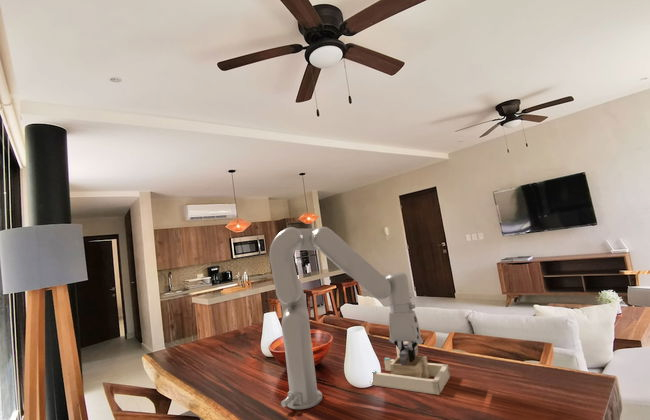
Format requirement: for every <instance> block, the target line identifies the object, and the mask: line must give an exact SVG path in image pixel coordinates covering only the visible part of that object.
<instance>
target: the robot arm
mask: <svg viewBox="0 0 650 420" xmlns="http://www.w3.org/2000/svg"><path fill="white" fill-rule="evenodd" d="M317 250H318V251H320V252H321V254H323V255H324V256H325V257H326V259H329V261H331V262H332V263H333V264H334V265H335V266H336V267H337V268H338V269H339V270H341V271H342V272H343V273H344V274H346V275H347V276H349V277H351V278H352V279H353V280H354V281H355V282H357V284H359V285H360V286H361V287H362V288H364V290H365V291H366V292H367V293H368V294H369V295H371V296H372V297H374V298H375V299H377V300H385V299H386V298H388V301H389V307H390V309H389V310H390V311H389V313H388V329H389V339H388V341H389V342H390V343H392V344H394V345H395V347H396V346H397V347H398V349H399V350H400V353H401V352H402V351H403V350H404V349H405V347H404V342H403V341H408V344H409V351H408V353H409V361H410V362H413V361H414V359H415V352H414V348H415V347H416V346H419V345H422V344H423V342H424V340H423V338H422V337H421V329H420V324H419V320H418V317H417V314H416V311H415V310H413V309H416V304H413V303H412V300H411V294H410V293H411V292H410V287H409V280H408V276H407V274H406V273H404V272H392V273H389V274H382V273H381V272H379V271H378V270H377V269H376V268H375V267H374V266H372V264H370V263H369V262H368V261H367V260H366V259H364V257H362V255H361V254H359V253H358V252H357V251H356V250H355V249H354V248H352V247H351V246H350V245H349V244H348V243H347V242H345V241H344V240H343V239H342V238H341V237H340V236H339V235H338V234H337V233H335V231H333V230H332V229H331V228H329V227H327V226H320V227H317V228H316V227H315V228H297V227H293V226H289V227H286V228H284V229H283V230H281V231H280V232H279V233H278V234H277V235H276V236H275V237H274V239H273V240H272V242H271V244H270V246H269V263H270V268H271V273H272V279H273V284H274V289H275V295H276V298H277V299H278V301H279V302H280V305H281V310H282V314H283V315H282V317H281V334H282V339H283V346H284V353H285V363H286V371H287V372H286V373H287V381H288V389H289V391H287V396H286V397H285V398H284V399H283V400H282V401H280V405H281V407H282V408H286V407H288V408H289V409H293V410H305V409H310V408H312V407H315V406H317V405H319V404H320V403H321V401H322V400H323V393H322V392H321V391H320V390H319V389H318V386H317V376H316V368H315V361H314V352H313V344H312V335H311V327H310V326H311V325H310V314H309V310H308V306H307V305H308V304H307V301H306V297H305V292H304V288H303V284H302V282H301V280H300V279H299V277H298V273H297V268H296V264H295V259H294V254H295V252H296V251H317ZM414 341H415V342H414Z"/></svg>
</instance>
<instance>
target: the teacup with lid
mask: <svg viewBox="0 0 650 420" xmlns="http://www.w3.org/2000/svg"><path fill="white" fill-rule="evenodd" d="M403 342H404V347H405V348H406V347H407V346H408V345H409V344H408V341H403ZM414 342H415V341H414ZM418 346H419V345H417V346H416V347H415V355H417V356H420V355H419V354H420V353H419V347H418ZM395 347H396V358H397V357H398V356H399V354H400V350H399V349H398V347H397V346H396V345H395Z"/></svg>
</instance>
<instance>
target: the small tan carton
mask: <svg viewBox="0 0 650 420" xmlns="http://www.w3.org/2000/svg"><path fill="white" fill-rule="evenodd" d="M408 351H409V345H408V346H407V347H406V348H405V349H404V350H403V351H402V352H401V353H400V354H399V356H398V357H397V356H396V357H395V360H394V361H393V362H392V363H391V364H390V368H391V371H390V374H395V375H403V376H411V377H419V378H427V379H430V377H431V376H429V369H428V363H429V362H428V356H425V355H419V356H417V355H415V359H414V361H413V362H410V361H409V353H408ZM414 352H415V348H414Z"/></svg>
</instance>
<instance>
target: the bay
mask: <svg viewBox="0 0 650 420" xmlns="http://www.w3.org/2000/svg"><path fill="white" fill-rule="evenodd" d="M395 359H396V358H395ZM395 359H394V358H391V357H384V359H383V363H384V369H385V370H384V371H386V372H391V368H390V364H391V363H392V362H393V361H394V360H395ZM428 369H429V376H430V377H434V378H428V379H427V378H419V377H411V376H403V375H395V374H391V373H386V372H378V371H377V370H374V371H375V372H372V373H373V382H372V384H371V383H370V385H371V386H377V387H382V388H383V387H385V388H390V389H397V390H402V391H403V390H404V391H410V392H416V393H422V394H431V395H438V396H440V394H441V393H442V391H443V389H444V388H445V385H446V384H447V383H448V381H449V379H450V378H451V374H450V366H449V364H444V363H433V362H428Z"/></svg>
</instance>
